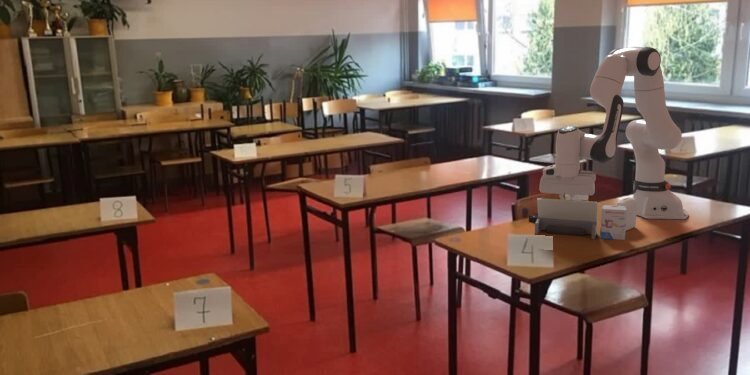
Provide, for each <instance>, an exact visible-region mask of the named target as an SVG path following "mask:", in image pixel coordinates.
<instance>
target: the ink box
mask: <svg viewBox="0 0 750 375" xmlns="http://www.w3.org/2000/svg"><path fill="white" fill-rule="evenodd" d="M600 212H601V214H600V227H599V228H600V231H599V236H600V238H601V239H603V240H619V241H620V240H622V241H625V240H626V217H627V209H626V207H625V206H616V205H611V204H610V205H609V204H608V205H606V204H603V205H601V210H600Z"/></svg>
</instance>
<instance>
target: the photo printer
mask: <svg viewBox="0 0 750 375" xmlns="http://www.w3.org/2000/svg"><path fill="white" fill-rule="evenodd" d="M615 206H625V207H626V209H627V217H626V231H629V230H632V229H634V228H635V227H636V226H637V225H636V224H637V215H636V211H637V201H636V200H635V199H634V198H633V197H624V198H622V199H621V200H619V201H618V202H617V203H616V205H615ZM626 231H625V232H626Z"/></svg>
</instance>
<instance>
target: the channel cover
mask: <svg viewBox="0 0 750 375" xmlns="http://www.w3.org/2000/svg"><path fill="white" fill-rule="evenodd" d="M536 202H537V203H536V204H537V205H536V206H537V214H538V218H549V219H562V220H576V221H590V222H597V223H598V201H591V200H590V201H589V200H588V201H577V200H565V199H564V200H561V199H560V198H559V199H557V198H544V197H543V198H541V197H537V198H536Z"/></svg>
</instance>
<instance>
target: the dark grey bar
mask: <svg viewBox="0 0 750 375" xmlns="http://www.w3.org/2000/svg"><path fill="white" fill-rule="evenodd" d="M545 231H546V232H547V233H548V234H557V235H570V236H583V237H584V236H585V235H586V234H587V233H586V230H585V229H584V228H578V227H565V226H552V225H548V226H547V227H546V230H545Z"/></svg>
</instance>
